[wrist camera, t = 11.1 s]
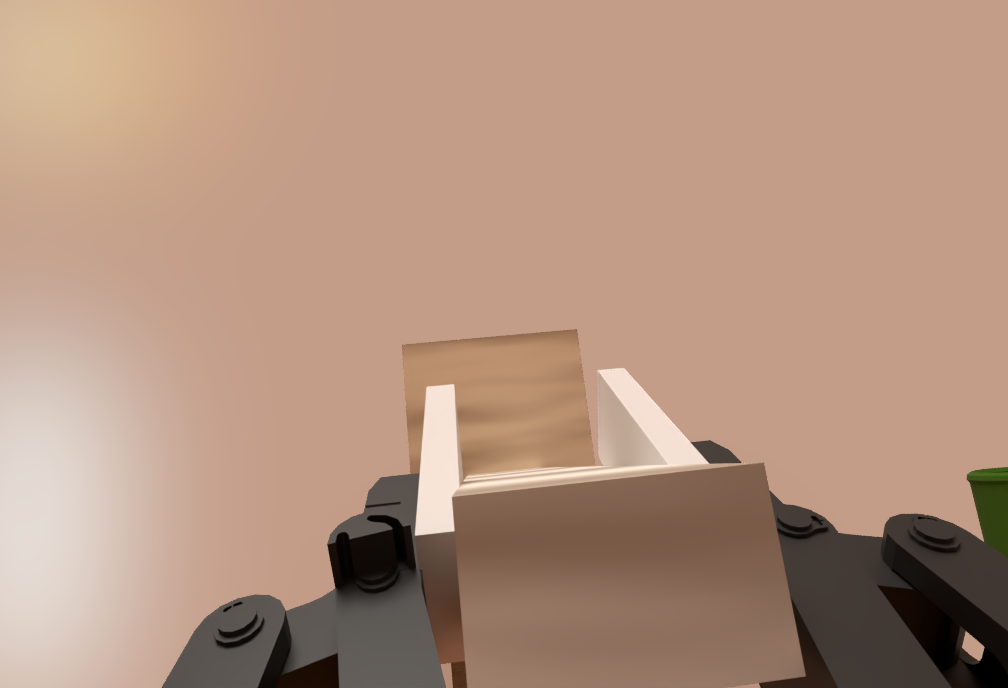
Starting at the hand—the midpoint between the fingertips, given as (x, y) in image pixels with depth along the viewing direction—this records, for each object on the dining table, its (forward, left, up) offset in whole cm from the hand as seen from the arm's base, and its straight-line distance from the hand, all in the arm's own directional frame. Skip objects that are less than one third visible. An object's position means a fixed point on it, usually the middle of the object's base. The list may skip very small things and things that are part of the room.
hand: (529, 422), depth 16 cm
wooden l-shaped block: (-3, +7, -4) cm, 8 cm away
